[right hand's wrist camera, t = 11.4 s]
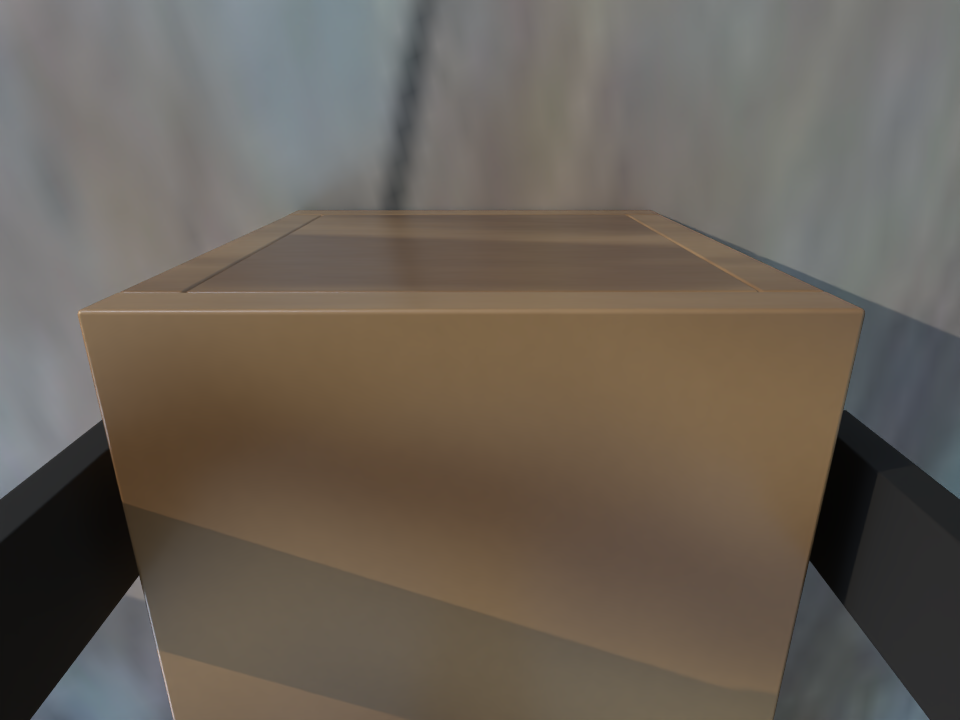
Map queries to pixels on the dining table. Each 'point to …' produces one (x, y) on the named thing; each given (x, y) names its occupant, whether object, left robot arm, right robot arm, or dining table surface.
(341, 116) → the dining table surface
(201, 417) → the cabinet
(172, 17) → the dining table surface
